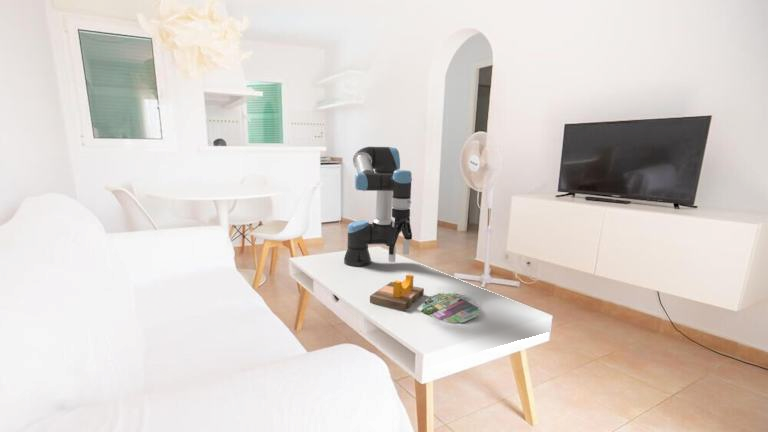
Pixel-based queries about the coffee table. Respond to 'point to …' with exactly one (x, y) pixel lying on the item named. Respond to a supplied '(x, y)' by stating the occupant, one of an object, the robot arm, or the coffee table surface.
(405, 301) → the board
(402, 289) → the pipe clamp
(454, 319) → the city model
